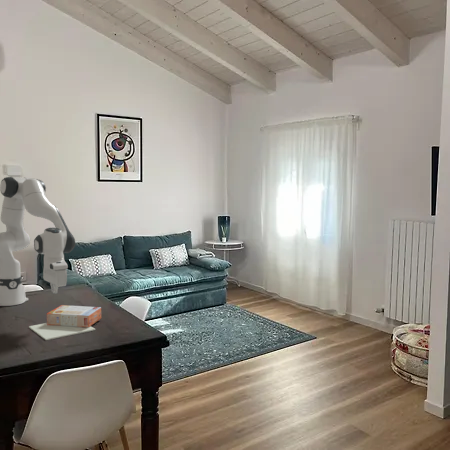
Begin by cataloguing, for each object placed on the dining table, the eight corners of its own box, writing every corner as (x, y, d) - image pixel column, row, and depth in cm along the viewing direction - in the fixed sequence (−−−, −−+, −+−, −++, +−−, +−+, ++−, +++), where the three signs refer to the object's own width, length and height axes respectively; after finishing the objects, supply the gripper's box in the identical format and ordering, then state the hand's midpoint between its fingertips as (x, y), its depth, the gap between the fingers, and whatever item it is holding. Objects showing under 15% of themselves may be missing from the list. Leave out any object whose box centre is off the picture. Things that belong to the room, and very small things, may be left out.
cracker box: (46, 325, 215) (88, 328, 212) (45, 313, 215) (88, 315, 211) (62, 316, 229) (102, 318, 226) (61, 304, 228) (101, 306, 225)
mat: (28, 327, 213) (28, 326, 213) (75, 318, 228) (75, 317, 227) (46, 340, 197) (46, 339, 197) (95, 330, 211) (95, 328, 211)
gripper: (39, 260, 221) (40, 289, 223) (55, 267, 206) (55, 298, 207) (52, 259, 225) (53, 287, 227) (69, 265, 210) (69, 295, 211)
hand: (54, 292), depth 217 cm, fingers closed
